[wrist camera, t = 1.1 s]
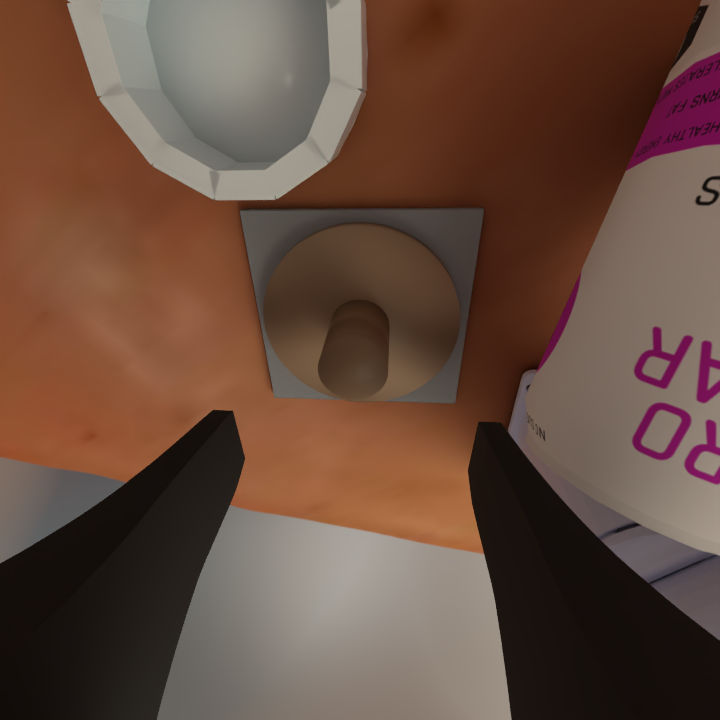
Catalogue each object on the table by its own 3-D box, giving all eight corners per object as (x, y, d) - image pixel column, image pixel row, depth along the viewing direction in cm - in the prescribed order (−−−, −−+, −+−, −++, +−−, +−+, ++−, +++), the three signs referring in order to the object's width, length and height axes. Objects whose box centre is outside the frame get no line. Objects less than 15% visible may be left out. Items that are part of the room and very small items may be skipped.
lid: (447, 396, 23) (458, 458, 19) (281, 390, 23) (257, 449, 19) (470, 221, 17) (493, 256, 13) (252, 221, 18) (210, 255, 14)
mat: (454, 399, 23) (455, 403, 23) (275, 393, 24) (274, 397, 24) (482, 207, 17) (484, 209, 17) (242, 208, 18) (239, 210, 18)
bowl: (369, 183, 17) (363, 199, 14) (175, 185, 18) (131, 200, 15) (367, -127, 12) (357, -203, 9) (98, -108, 13) (9, -173, 10)
